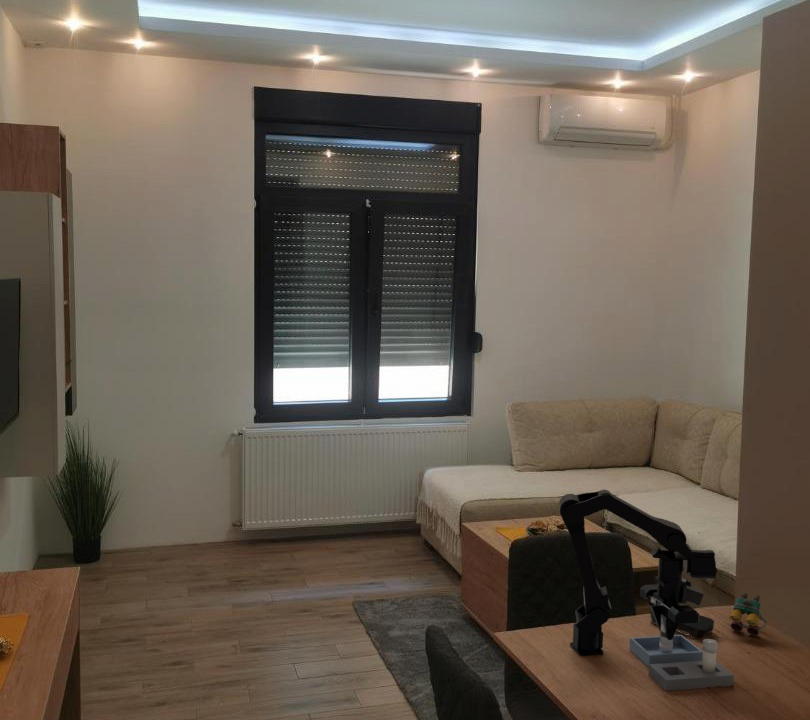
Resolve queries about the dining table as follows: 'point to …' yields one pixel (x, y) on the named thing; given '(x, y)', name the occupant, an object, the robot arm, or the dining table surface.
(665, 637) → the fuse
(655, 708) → the dining table surface
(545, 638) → the dining table surface
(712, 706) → the dining table surface
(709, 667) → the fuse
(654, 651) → the parts tray
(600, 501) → the robot arm
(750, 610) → the binoculars
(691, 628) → the black sponge
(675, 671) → the fuse holder
